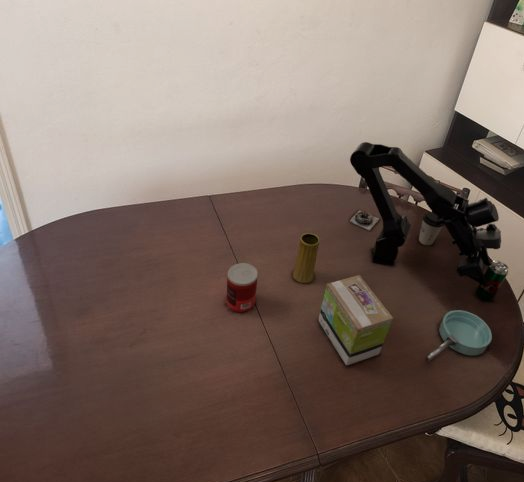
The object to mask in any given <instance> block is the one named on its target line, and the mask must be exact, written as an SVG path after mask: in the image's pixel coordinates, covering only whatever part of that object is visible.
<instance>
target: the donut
mask: <svg viewBox="0 0 524 482" xmlns="http://www.w3.org/2000/svg"><path fill="white" fill-rule="evenodd" d="M379 220H380V218H379V217H377V216H374V215H372V214H371V213H370V212H366V211H362V210H358V211H357V212H356V213H354V215H352V217H351V219H350V221H349V223H352V224H353V225H356V226H358V227H360V228H362V229H365V230H367V231H371V230H372V228H373V227H374V226H375V225H376V224H377V223H378V221H379Z"/></svg>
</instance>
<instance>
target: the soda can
mask: <svg viewBox="0 0 524 482" xmlns="http://www.w3.org/2000/svg"><path fill="white" fill-rule="evenodd" d="M483 274H484V277H485V279H486V282H487V285H482V284H480V283H478V285H477V287H476V288H475V295H476V297H477V298H478V299H480V300H481V301H483V302H489V301H493V300H494V299H495V296H496V295H497V293H498V291H499V290H500V288H501V286H502V285H503V283H504V281H505V279H506V277H507V275H508V274H509V266H508V265H507V264H506V263H505V262H503V261H501V260H493V261H492V262H490V264H489V266H487V268H486V270H485V272H484V273H483Z"/></svg>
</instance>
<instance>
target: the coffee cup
mask: <svg viewBox="0 0 524 482" xmlns="http://www.w3.org/2000/svg"><path fill="white" fill-rule="evenodd" d="M436 220H437V215H435V214H434V213H433V212H432V211H431V212H427V213H425V214H424V215H423V216H422V222H421V225H420V226H421V227H420V231H419V237H418V241H419V243H420V244H421V245H424V246H431V245H433V244H434V242H435V241H436V238H437V237H438V235H439V234H440V231H442V229H443V227H444V226H445V225H444V224H440V225H437V226H436V225H435V223H436Z"/></svg>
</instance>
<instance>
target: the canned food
mask: <svg viewBox="0 0 524 482" xmlns="http://www.w3.org/2000/svg"><path fill="white" fill-rule="evenodd" d="M226 277H227V278H226V299H225V301H226V304H227V307H228V308H229V309H230V311H233V312H235V313H245V312H249V311H250V310H251V309H253V307H254V305H255V304H256V295H257V289H258V288H257V287H258V277H259V272H258V269H257V268H256V267H255V266H254V265H252V264H250V263H246V262H239V263H235V264H234V265H232V266H231V267H229V269H228V271H227V276H226Z"/></svg>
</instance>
